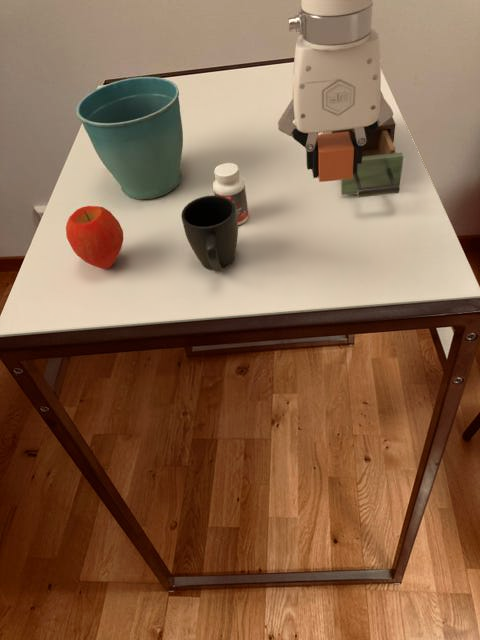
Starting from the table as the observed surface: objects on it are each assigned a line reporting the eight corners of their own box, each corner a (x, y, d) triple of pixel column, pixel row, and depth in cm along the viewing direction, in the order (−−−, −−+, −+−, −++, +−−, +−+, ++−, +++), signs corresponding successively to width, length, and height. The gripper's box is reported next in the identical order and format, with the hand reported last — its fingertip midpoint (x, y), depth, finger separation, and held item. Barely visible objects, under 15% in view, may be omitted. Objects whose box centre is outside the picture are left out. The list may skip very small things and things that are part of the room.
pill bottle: (223, 230, 88) (214, 181, 80) (215, 213, 91) (206, 165, 84) (253, 222, 88) (246, 172, 81) (243, 205, 92) (237, 156, 85)
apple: (141, 252, 86) (123, 199, 78) (115, 286, 81) (93, 233, 73) (100, 244, 89) (78, 192, 81) (72, 276, 84) (46, 224, 76)
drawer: (407, 210, 84) (412, 176, 79) (346, 216, 85) (348, 183, 80) (384, 151, 96) (387, 119, 92) (332, 157, 97) (332, 126, 93)
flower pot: (104, 170, 106) (74, 89, 93) (187, 150, 107) (169, 67, 95) (110, 219, 94) (77, 133, 81) (204, 196, 95) (186, 108, 83)
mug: (191, 296, 78) (178, 248, 71) (193, 245, 86) (182, 198, 79) (245, 289, 77) (237, 241, 70) (241, 240, 85) (234, 191, 78)
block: (347, 161, 70) (348, 131, 67) (352, 178, 67) (354, 148, 64) (315, 164, 71) (315, 135, 68) (319, 182, 68) (319, 152, 65)
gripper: (260, 46, 54) (273, 193, 67) (423, 24, 52) (403, 178, 66) (258, 21, 59) (270, 162, 72) (406, 1, 57) (390, 148, 71)
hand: (333, 169), depth 69 cm, fingers closed on block, 4 cm apart
